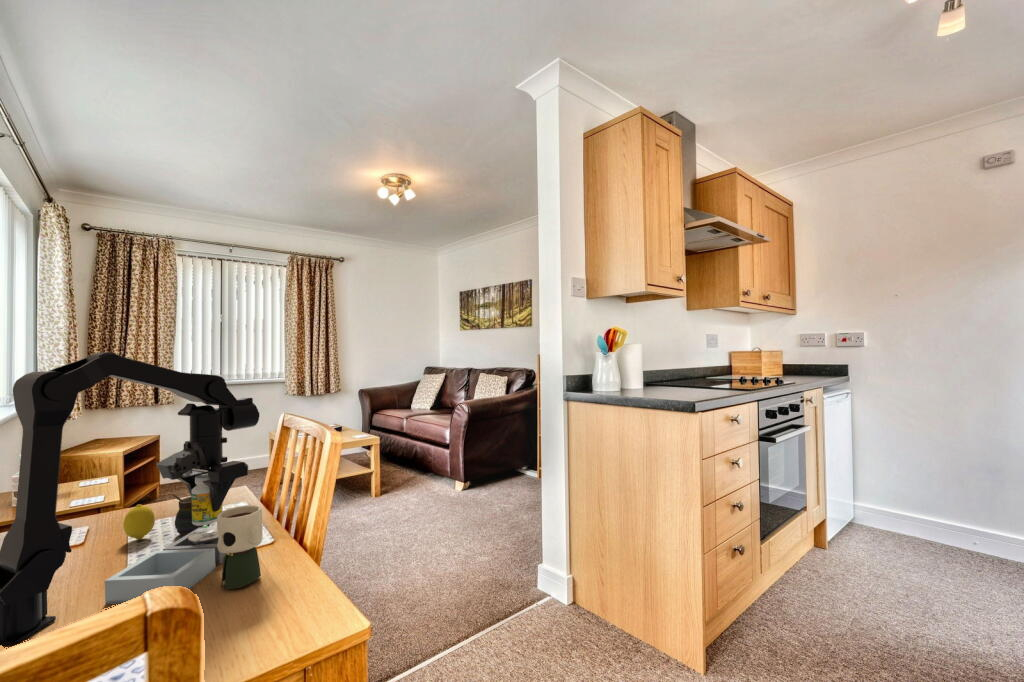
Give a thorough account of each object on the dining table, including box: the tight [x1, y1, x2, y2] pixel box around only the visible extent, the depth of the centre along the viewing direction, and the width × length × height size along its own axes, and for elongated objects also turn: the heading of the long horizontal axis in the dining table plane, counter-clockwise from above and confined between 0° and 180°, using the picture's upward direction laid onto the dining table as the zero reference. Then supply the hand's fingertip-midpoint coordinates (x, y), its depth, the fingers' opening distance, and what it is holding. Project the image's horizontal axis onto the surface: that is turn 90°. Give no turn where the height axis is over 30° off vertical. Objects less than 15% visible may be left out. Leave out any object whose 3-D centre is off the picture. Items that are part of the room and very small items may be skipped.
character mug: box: [216, 504, 264, 590], centre depth 84 cm, size 11×7×13 cm, turn 58°
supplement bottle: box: [190, 474, 224, 526], centre depth 97 cm, size 5×5×10 cm
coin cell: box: [188, 525, 219, 544], centre depth 97 cm, size 7×7×2 cm
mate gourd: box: [172, 494, 211, 537], centre depth 108 cm, size 7×8×10 cm
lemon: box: [123, 503, 156, 541], centre depth 105 cm, size 6×6×8 cm
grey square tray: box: [162, 525, 226, 566], centre depth 97 cm, size 11×11×4 cm
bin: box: [104, 548, 216, 605], centre depth 84 cm, size 11×11×4 cm
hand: (207, 509), depth 97 cm, fingers closed on supplement bottle, 5 cm apart
